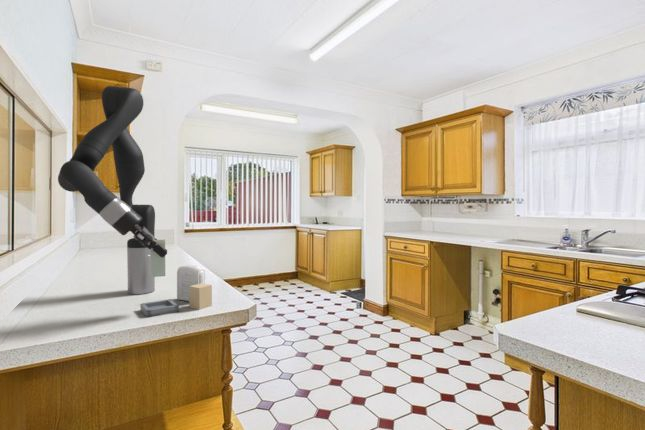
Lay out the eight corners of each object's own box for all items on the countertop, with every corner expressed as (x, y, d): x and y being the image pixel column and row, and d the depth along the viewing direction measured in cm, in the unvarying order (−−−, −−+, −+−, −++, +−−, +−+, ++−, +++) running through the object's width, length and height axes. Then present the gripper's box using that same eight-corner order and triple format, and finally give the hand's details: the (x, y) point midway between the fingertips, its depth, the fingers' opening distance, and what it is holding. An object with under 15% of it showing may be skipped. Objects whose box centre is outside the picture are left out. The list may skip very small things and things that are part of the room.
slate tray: (140, 310, 114) (140, 303, 114) (170, 305, 119) (170, 299, 119) (147, 317, 107) (147, 310, 107) (178, 311, 112) (178, 305, 112)
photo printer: (207, 300, 126) (206, 265, 125) (198, 303, 122) (198, 267, 121) (183, 297, 130) (183, 263, 129) (175, 300, 126) (174, 265, 125)
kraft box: (189, 307, 117) (189, 286, 117) (201, 303, 122) (201, 283, 121) (199, 309, 115) (199, 288, 115) (211, 306, 119) (211, 285, 119)
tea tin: (151, 274, 114) (151, 240, 113) (165, 273, 115) (165, 239, 115) (150, 277, 110) (150, 241, 110) (165, 276, 112) (165, 240, 111)
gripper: (128, 208, 102) (174, 248, 108) (132, 207, 115) (174, 243, 121) (107, 227, 101) (155, 267, 106) (114, 223, 114) (156, 259, 119)
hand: (165, 254), depth 113 cm, fingers closed on tea tin, 4 cm apart
